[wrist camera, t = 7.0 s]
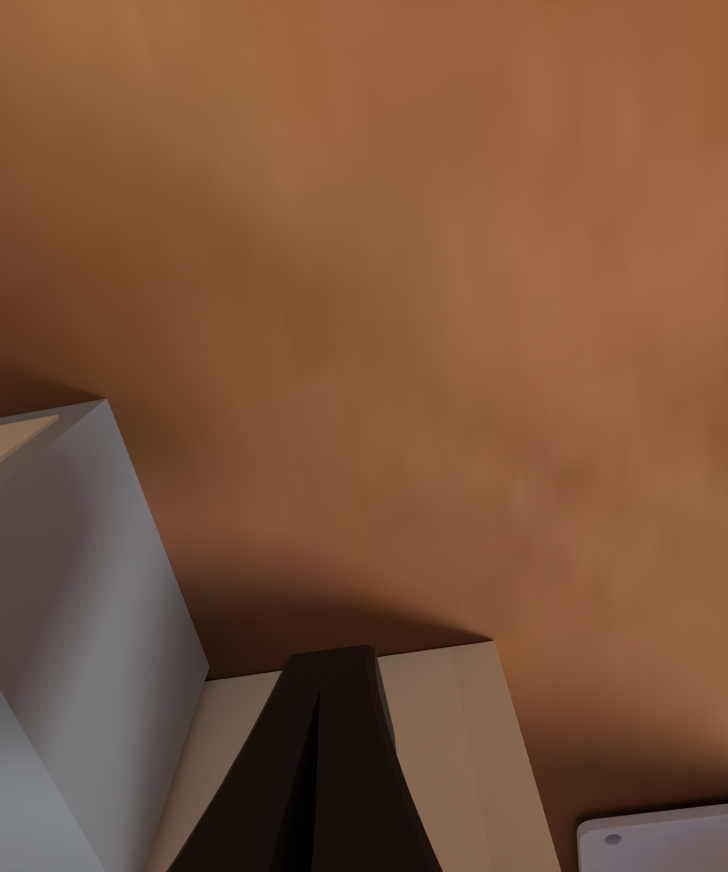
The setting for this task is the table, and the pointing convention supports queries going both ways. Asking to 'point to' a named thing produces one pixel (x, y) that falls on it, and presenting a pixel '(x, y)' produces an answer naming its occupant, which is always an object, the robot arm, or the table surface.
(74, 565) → the boxed book
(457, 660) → the shelf wall
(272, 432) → the table surface
